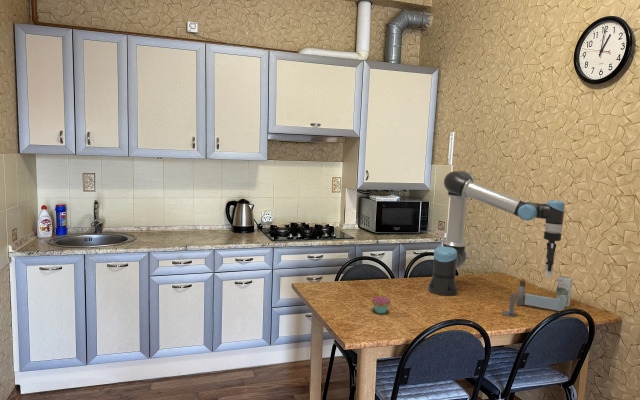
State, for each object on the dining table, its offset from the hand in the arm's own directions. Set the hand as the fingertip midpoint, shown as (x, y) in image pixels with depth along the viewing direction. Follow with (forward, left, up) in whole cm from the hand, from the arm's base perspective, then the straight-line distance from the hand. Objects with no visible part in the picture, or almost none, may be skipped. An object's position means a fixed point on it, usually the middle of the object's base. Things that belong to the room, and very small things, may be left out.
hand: (548, 274), depth 213 cm
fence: (-11, +3, -16) cm, 20 cm away
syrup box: (+8, +7, -16) cm, 20 cm away
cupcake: (-67, -56, -16) cm, 89 cm away
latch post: (-15, -24, -16) cm, 33 cm away
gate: (-2, -6, -16) cm, 17 cm away
